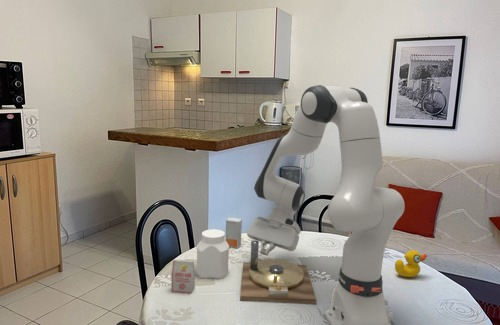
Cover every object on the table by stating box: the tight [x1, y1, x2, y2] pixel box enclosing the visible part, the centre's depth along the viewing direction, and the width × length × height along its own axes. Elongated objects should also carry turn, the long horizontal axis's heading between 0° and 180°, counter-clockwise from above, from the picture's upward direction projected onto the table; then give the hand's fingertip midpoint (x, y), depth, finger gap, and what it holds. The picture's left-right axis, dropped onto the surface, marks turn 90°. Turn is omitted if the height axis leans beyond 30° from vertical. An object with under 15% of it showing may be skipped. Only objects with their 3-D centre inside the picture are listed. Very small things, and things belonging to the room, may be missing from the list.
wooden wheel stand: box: [239, 262, 317, 305], centre depth 125 cm, size 24×24×4 cm
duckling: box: [394, 249, 427, 278], centre depth 134 cm, size 11×5×10 cm, turn 96°
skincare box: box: [225, 216, 243, 249], centre depth 155 cm, size 6×4×12 cm
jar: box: [196, 228, 230, 280], centre depth 131 cm, size 12×10×15 cm
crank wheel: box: [249, 239, 304, 289], centre depth 126 cm, size 19×19×12 cm
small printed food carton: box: [171, 260, 196, 294], centre depth 118 cm, size 4×7×10 cm, turn 85°
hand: (263, 254), depth 131 cm, fingers closed
